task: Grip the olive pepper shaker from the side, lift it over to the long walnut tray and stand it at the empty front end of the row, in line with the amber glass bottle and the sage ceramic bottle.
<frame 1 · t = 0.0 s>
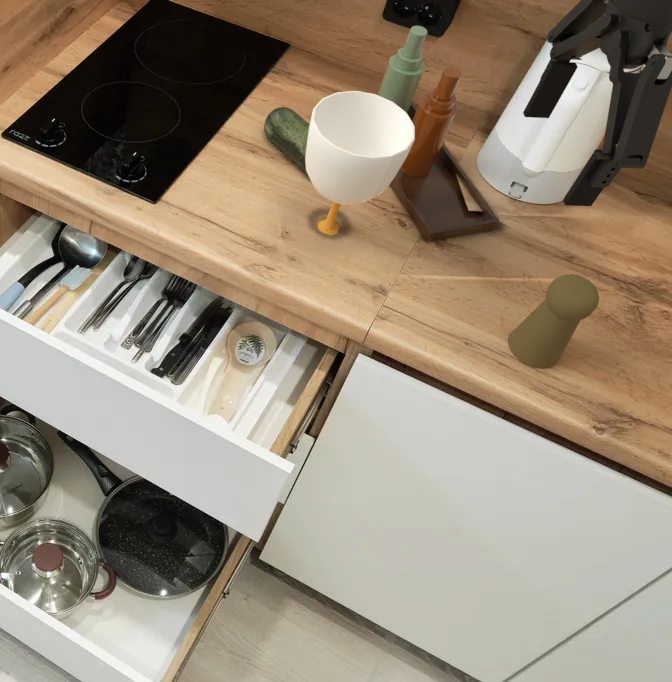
hand: (555, 157, 84), 20 cm above the worktop, tool pointing down, fingers open, 13 cm apart
amber bottle: (413, 165, 111), point 1 cm above the worktop, touching tray
cup: (326, 231, 103), on the worktop
vegetable: (297, 157, 112), on the worktop
sage bottle: (385, 123, 116), point 1 cm above the worktop, touching tray
olive pepper shaker: (533, 348, 94), on the worktop
tray: (412, 168, 112), on the worktop
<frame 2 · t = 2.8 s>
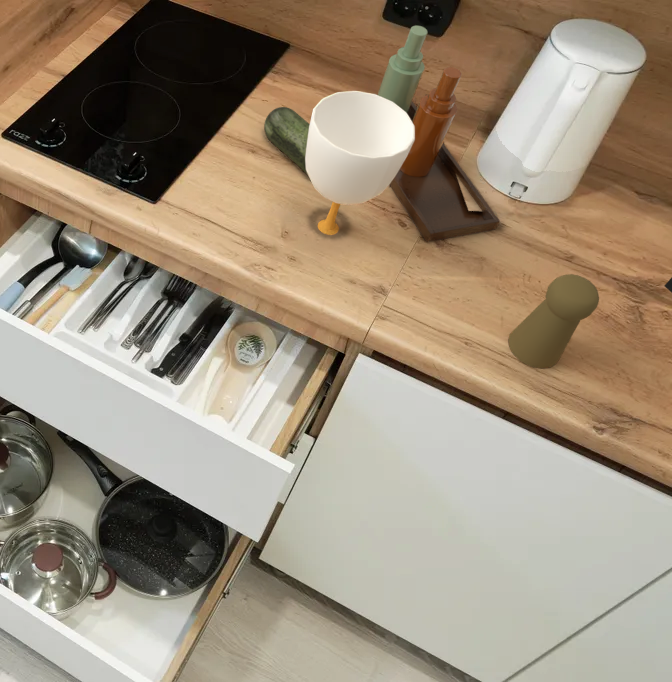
nothing on the worktop moved.
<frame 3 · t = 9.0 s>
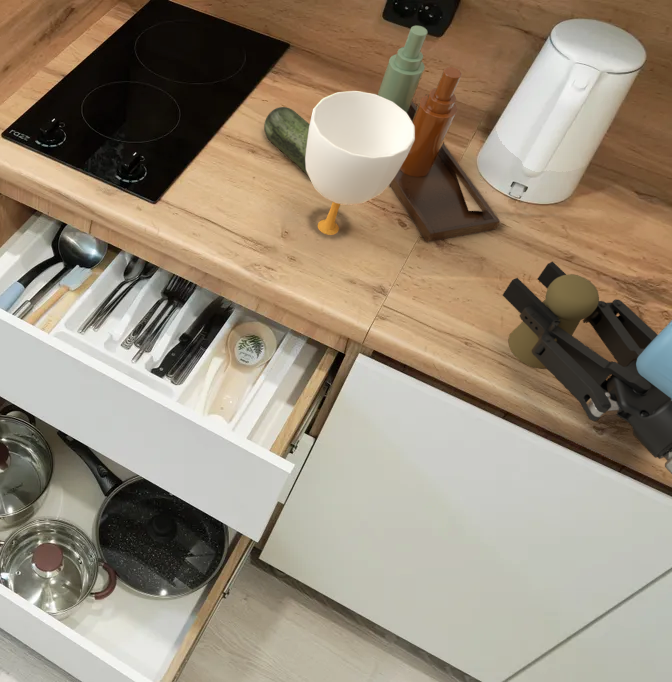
hand: (527, 278, 91), 7 cm above the worktop, tool horizontal, fingers closed on olive pepper shaker, 5 cm apart
olive pepper shaker: (533, 348, 94), on the worktop, touching gripper
everything else where it was.
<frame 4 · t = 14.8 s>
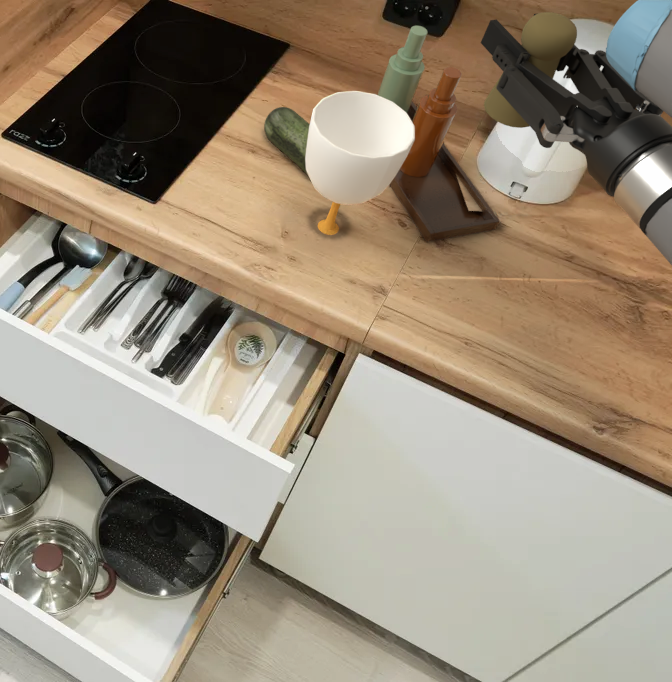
hand: (510, 28, 87), 26 cm above the worktop, tool horizontal, fingers closed on olive pepper shaker, 5 cm apart
olive pepper shaker: (510, 111, 90), point 19 cm above the worktop, touching gripper
everything else where it was.
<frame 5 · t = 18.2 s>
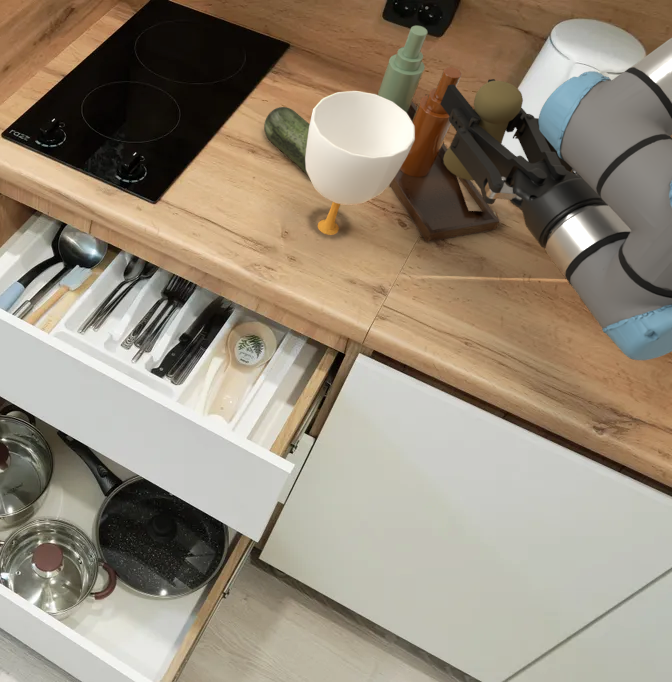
hand: (467, 91, 97), 15 cm above the worktop, tool horizontal, fingers closed on olive pepper shaker, 5 cm apart
olive pepper shaker: (466, 165, 100), point 8 cm above the worktop, touching gripper
everything else where it was.
when the fingers open (7 cm above the worktop, at t = 20.7 s): olive pepper shaker stays where it is, resting on tray.
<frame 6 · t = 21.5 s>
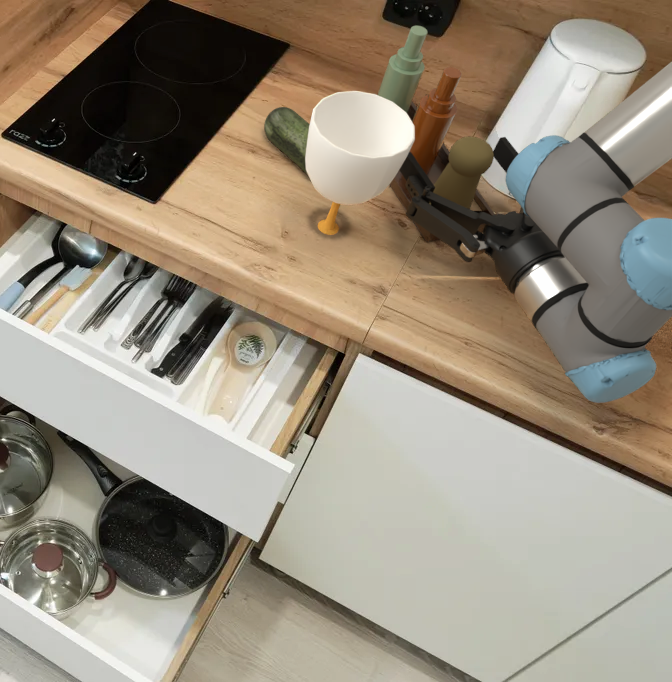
hand: (451, 152, 102), 8 cm above the worktop, tool horizontal, fingers open, 13 cm apart
olive pepper shaker: (443, 211, 106), resting on tray
everything else where it was.
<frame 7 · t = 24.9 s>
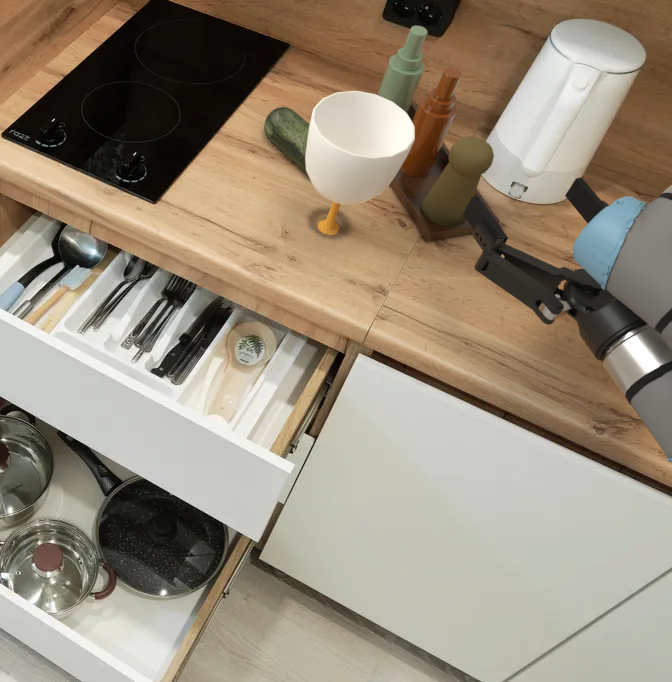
hand: (522, 195, 91), 12 cm above the worktop, tool horizontal, fingers open, 13 cm apart
nothing on the worktop moved.
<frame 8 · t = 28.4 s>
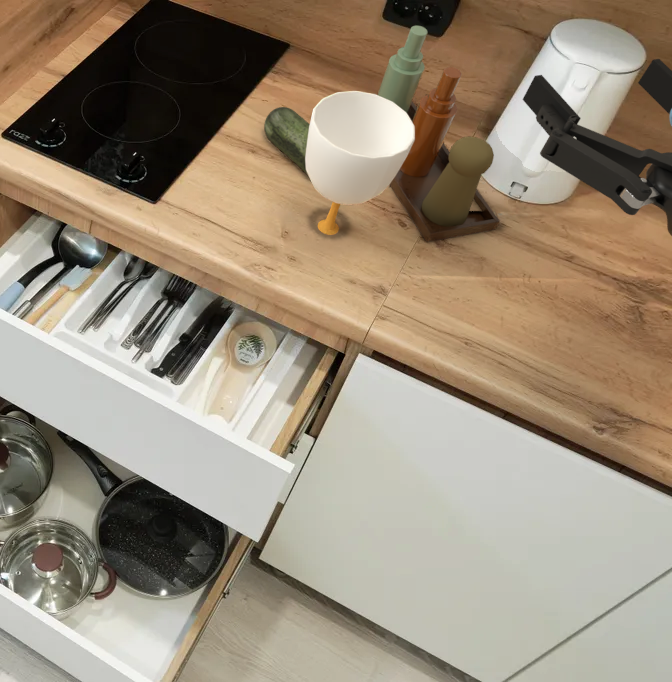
hand: (591, 78, 79), 28 cm above the worktop, tool horizontal, fingers open, 13 cm apart
nothing on the worktop moved.
at the end: olive pepper shaker 0.0 cm from the target spot on the tray, point 0.4 cm above the tray's base; olive pepper shaker tilted 0° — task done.
